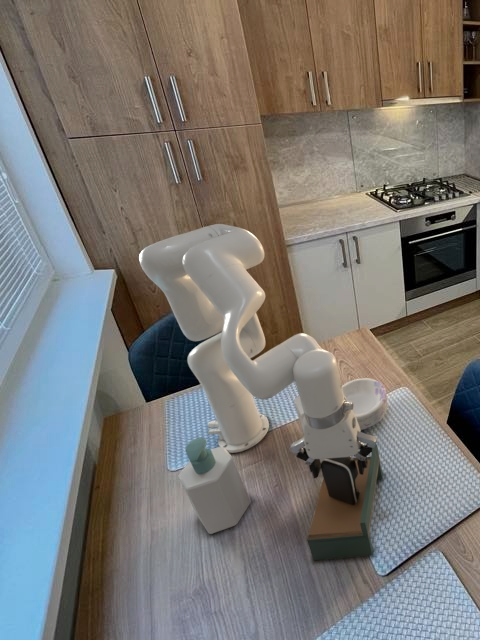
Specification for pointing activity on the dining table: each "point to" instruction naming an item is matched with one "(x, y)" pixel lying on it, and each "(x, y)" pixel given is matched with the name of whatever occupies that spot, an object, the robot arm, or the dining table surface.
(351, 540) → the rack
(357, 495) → the battery charger
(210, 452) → the soap bottle
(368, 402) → the paper bowls
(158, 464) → the dining table surface
